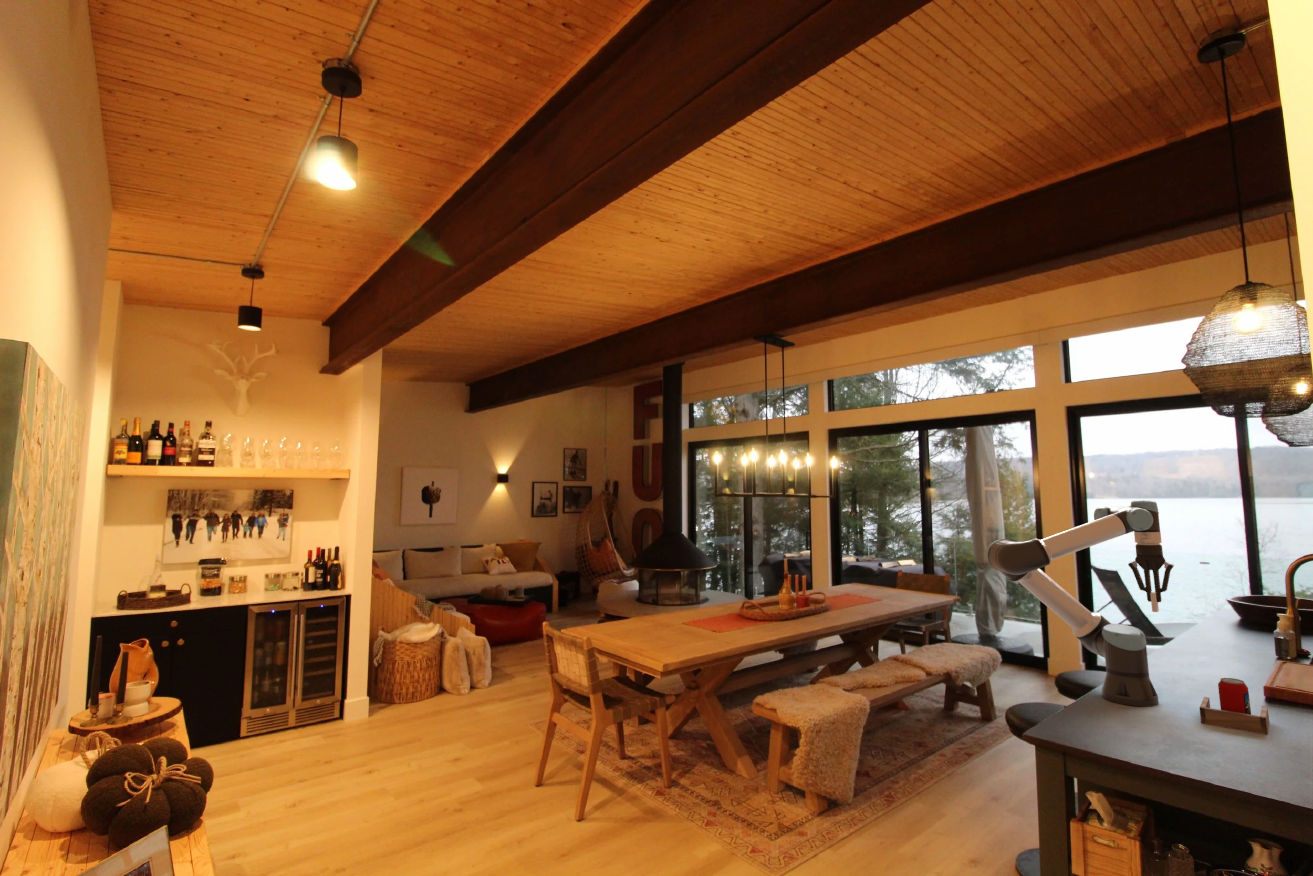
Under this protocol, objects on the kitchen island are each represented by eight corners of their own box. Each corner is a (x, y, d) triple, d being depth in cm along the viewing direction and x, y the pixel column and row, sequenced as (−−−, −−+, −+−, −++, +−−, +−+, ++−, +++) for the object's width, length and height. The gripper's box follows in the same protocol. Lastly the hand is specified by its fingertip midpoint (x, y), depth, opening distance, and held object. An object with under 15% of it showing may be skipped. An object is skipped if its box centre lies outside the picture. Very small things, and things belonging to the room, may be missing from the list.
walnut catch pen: (1267, 734, 181) (1265, 718, 181) (1201, 723, 191) (1199, 707, 191) (1269, 722, 190) (1267, 706, 190) (1205, 711, 200) (1204, 696, 200)
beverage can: (1258, 726, 187) (1253, 684, 188) (1230, 725, 188) (1226, 683, 189) (1242, 718, 193) (1238, 677, 195) (1216, 717, 195) (1212, 677, 196)
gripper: (1123, 544, 230) (1130, 611, 228) (1169, 545, 221) (1177, 615, 219) (1128, 542, 235) (1135, 608, 233) (1173, 543, 226) (1180, 611, 224)
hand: (1155, 611), depth 226 cm, fingers closed
